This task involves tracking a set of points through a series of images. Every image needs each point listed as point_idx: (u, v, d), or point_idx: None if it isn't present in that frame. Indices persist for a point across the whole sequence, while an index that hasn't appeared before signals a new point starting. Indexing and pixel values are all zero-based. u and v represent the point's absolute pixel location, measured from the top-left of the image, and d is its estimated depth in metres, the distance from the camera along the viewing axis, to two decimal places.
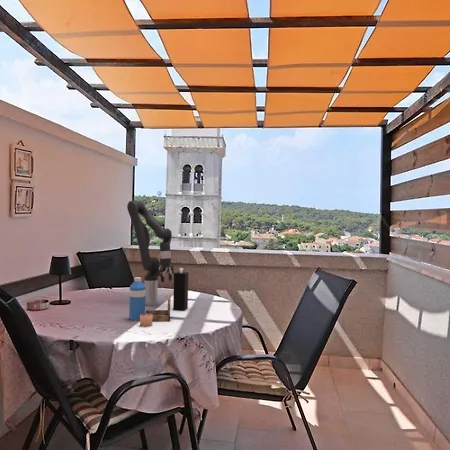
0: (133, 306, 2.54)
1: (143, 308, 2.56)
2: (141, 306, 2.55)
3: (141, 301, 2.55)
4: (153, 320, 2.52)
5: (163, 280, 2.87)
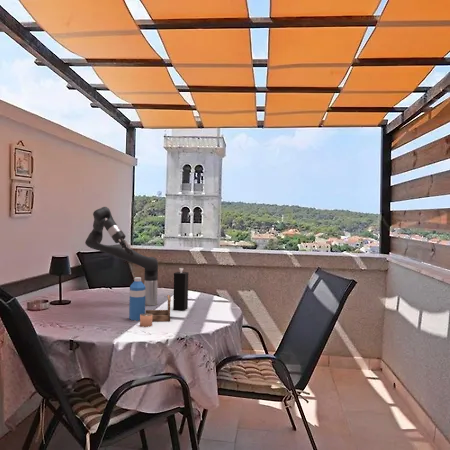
0: (133, 306, 2.54)
1: (143, 308, 2.56)
2: (141, 306, 2.55)
3: (141, 301, 2.55)
4: (153, 320, 2.52)
5: (129, 250, 2.58)
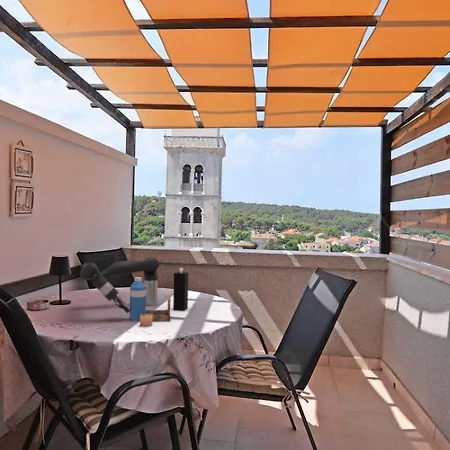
0: (133, 306, 2.54)
1: (143, 308, 2.56)
2: (141, 306, 2.55)
3: (141, 301, 2.55)
4: (153, 320, 2.52)
5: (128, 309, 2.55)
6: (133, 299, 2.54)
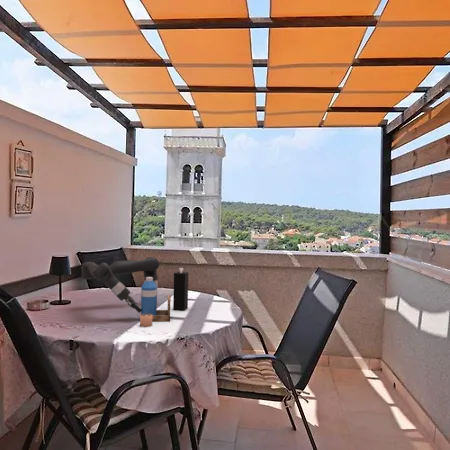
0: (145, 306, 2.55)
1: (155, 308, 2.58)
2: (153, 306, 2.56)
3: (153, 301, 2.56)
4: (153, 320, 2.52)
5: (140, 309, 2.56)
6: (144, 299, 2.55)
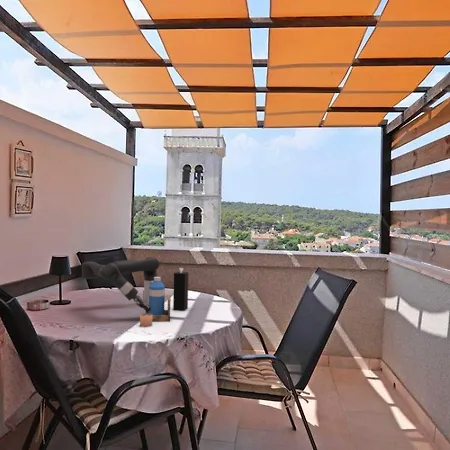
0: (153, 305, 2.57)
1: (163, 307, 2.60)
2: (161, 305, 2.58)
3: (161, 300, 2.58)
4: (153, 320, 2.52)
5: (148, 308, 2.58)
6: (153, 298, 2.57)
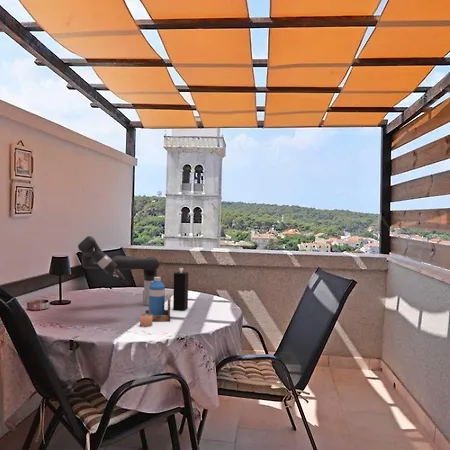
0: (153, 305, 2.57)
1: (163, 307, 2.60)
2: (161, 305, 2.58)
3: (161, 300, 2.58)
4: (153, 320, 2.52)
5: (127, 282, 2.56)
6: (153, 298, 2.57)
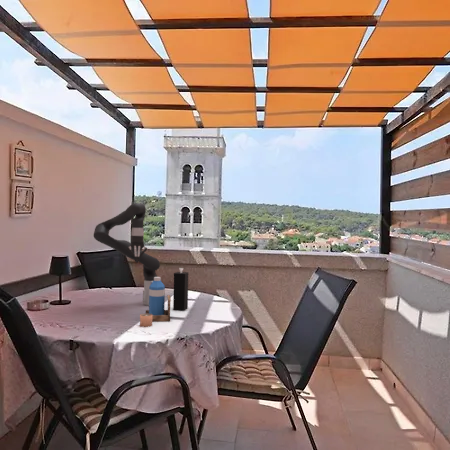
0: (153, 305, 2.57)
1: (163, 307, 2.60)
2: (161, 305, 2.58)
3: (161, 300, 2.58)
4: (153, 320, 2.52)
5: None
6: (153, 298, 2.57)
